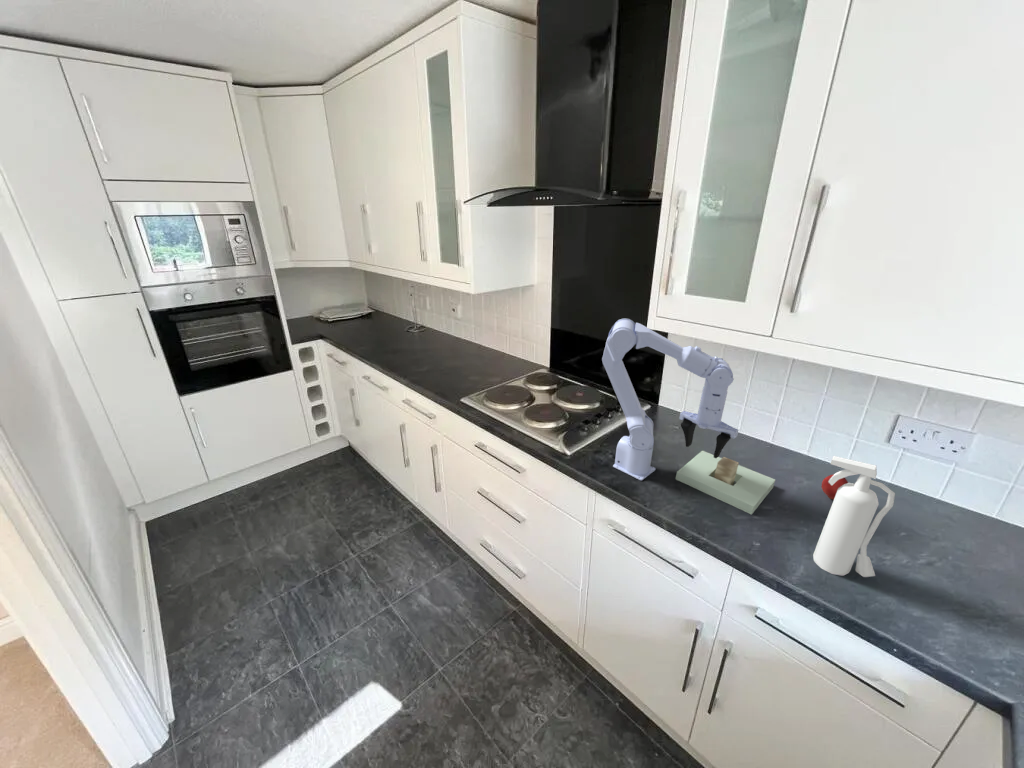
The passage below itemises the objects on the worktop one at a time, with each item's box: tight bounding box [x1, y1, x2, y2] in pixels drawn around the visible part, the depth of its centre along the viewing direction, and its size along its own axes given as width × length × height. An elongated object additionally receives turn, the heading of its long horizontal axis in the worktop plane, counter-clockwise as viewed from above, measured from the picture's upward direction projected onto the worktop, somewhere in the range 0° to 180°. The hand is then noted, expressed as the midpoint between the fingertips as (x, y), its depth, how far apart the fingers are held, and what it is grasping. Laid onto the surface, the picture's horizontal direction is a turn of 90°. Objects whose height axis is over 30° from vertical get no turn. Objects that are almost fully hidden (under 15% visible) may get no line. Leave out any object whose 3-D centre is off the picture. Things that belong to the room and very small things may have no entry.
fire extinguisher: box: [812, 455, 896, 578], centre depth 85 cm, size 7×12×25 cm, turn 44°
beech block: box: [714, 456, 740, 486], centre depth 115 cm, size 4×4×7 cm
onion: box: [821, 473, 849, 500], centre depth 109 cm, size 6×6×8 cm
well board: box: [675, 450, 776, 515], centre depth 116 cm, size 20×16×2 cm
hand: (702, 450), depth 114 cm, fingers open, 7 cm apart
